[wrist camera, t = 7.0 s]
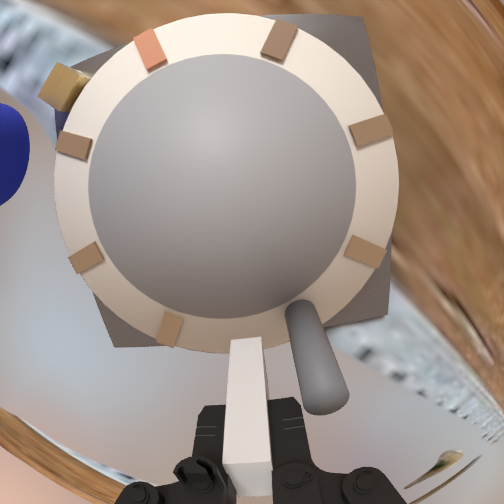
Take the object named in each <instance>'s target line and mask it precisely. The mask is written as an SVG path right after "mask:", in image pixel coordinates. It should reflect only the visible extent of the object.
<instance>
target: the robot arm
mask: <svg viewBox="0 0 504 504" xmlns="http://www.w3.org/2000/svg"><path fill="white" fill-rule="evenodd" d="M173 473H174V474H175V475H176V477H177V478H178V480H179V481H178V482H175V483H172V484H168V485H162V486H156V487H154V486H153V485H151V484H149V483H147V482H141V481H139V482H133V483H131V484H129V485H127V486H126V487H125V488H124V489H123V491H122V492H121V494H120V496H119V497H118V499H117V500H116V502H115V504H236V494H237V496H238V497H255V496H270V495H273V504H407V503H406V502H405V501H404V499H403V498H402V497H401V495H400V494H399V493H398V492H397V490H396V489H395V488H394V486H393V485H392V484H391V482H390V481H389V480H388V478H387V477H386V476H385V475H384V473H382V472H381V471H380V470H378V469H376V468H373V467H361V468H358V469H355V470H353V471H352V472H350V473H349V474H341V473H329V472H325V471H323V470H320V469H319V468H318V467H316V465H315V464H314V463H313V461H312V459H311V455H310V449H309V445H308V439H307V434H306V429H305V424H304V419H303V414H302V409H301V405H300V404H299V403H298V402H297V401H296V399H294V397H289V398H281V399H274V400H269V391H268V380H267V373H266V366H265V360H264V353H263V346H262V339H261V337H254V338H245V339H235V340H231V346H230V359H229V372H228V387H227V401H226V405H210V406H205V407H204V408H203V410H202V411H201V413H200V414H199V415H198V421H197V428H196V437H195V440H194V447H193V453H192V457H188V458H186V459H184V460H181V461H180V462H179V463H178V464H177V465H176V467H175V469H174V471H173Z"/></svg>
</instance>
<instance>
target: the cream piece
mask: <svg viewBox="0 0 504 504" xmlns="http://www.w3.org/2000/svg"><path fill="white" fill-rule="evenodd" d="M297 27H298V26H297V25H294V24H291V23H289V22H286V21H283V20H280V19H276V20H273V19H268V18H264V17H260V16H255V15H246V14H234V13H223V14H207V15H200V16H195V17H190V18H185V19H181V20H178V21H175V22H172V23H169V24H166V25H163V26H161V27H158V28H156V29H154V30H153V28H151V29H149V30H147V31H145V32H143V33H141V34H140V35H138V36H136V37H134V38H133V40H134V41H132V42H131V43H129V44H128V45H126V46H125V47H124V48H122V49H121V50H119V51H118V52H117V53H116V54H115V55H113V56H112V57H111V58H110V59H109V60H108V61H107V62H106V63H105V64H104V65H103V66H102V67H101V68H100V69H99V70H98V71H97V72H96V74H95V75H94V76H93V77H92V78H91V80H90V81H89V82H88V83H87V85H86V86H85V87H84V89H83V91H82V92H81V94H80V95H79V97H78V99H77V100H76V102H75V104H74V105H73V107H72V110H71V112H70V114H69V116H68V118H67V121H66V123H65V125H64V128H63V131H60V133H59V137H58V140H57V144H56V148H55V150H57V156H56V162H55V170H54V173H55V174H54V196H55V206H56V213H57V217H58V222H59V226H60V230H61V234H62V237H63V239H64V242H65V245H66V248H67V250H68V252H69V255H70V257H68V258H69V260H70V262H71V264H72V266H73V268H74V269H75V271H76V273H77V274H78V273H80V274H81V276H82V277H83V279H84V280H85V282H86V283H87V285H88V286H89V288H90V289H91V290H92V291H93V292H94V293H95V294H96V296H97V297H98V298H99V299H100V300H101V301H102V302H103V303H104V304H105V305H106V306H107V307H108V308H109V309H110V310H111V311H113V312H114V313H115V314H116V315H117V316H118V317H120V318H121V319H123V320H124V321H125V322H127V323H128V324H130V325H131V326H133V327H134V328H136V329H138V330H139V331H141V332H143V333H145V334H147V335H149V336H151V337H153V338H155V339H157V340H156V342H158V343H161V344H163V345H166V346H169V347H172V348H173V347H174V346H178V347H181V348H185V349H189V350H194V351H201V352H208V353H230V346H231V340H235V339H245V338H254V337H261V339H262V346H263V349H267V348H271V347H275V346H277V345H280V344H283V343H286V342H289V341H290V343H291V348H292V353H293V357H294V362H295V367H296V372H297V376H298V381H299V386H300V391H301V396H302V401H303V406H304V409H305V410H306V411H307V412H308V413H310V414H313V415H327V414H331V413H333V412H336V411H337V410H339V409H341V408H342V407H343V406H344V405H345V404H346V403H347V401H348V399H349V391H348V388H347V386H346V383H345V381H344V378H343V375H342V373H341V370H340V368H339V365H338V363H337V360H336V358H335V355H334V352H333V350H332V347H331V345H330V342H329V340H328V337H327V335H326V332H325V330H324V327H323V325H322V324H323V323H325V322H326V321H328V320H329V319H331V318H332V317H333V316H334V315H335V314H337V313H338V312H339V311H340V310H341V309H343V308H344V307H345V306H346V305H347V304H348V303H349V302H350V301H351V300H352V299H353V298H354V296H355V295H356V294H357V293H358V292H359V291H360V290H361V289H362V287H363V286H364V284H365V283H366V282H367V280H368V279H369V277H370V276H371V275H372V273H373V272H374V270H375V268H379V266H380V264H381V262H382V260H383V258H384V256H385V254H386V252H387V250H386V249H385V248H386V245H387V243H388V240H389V237H390V235H391V232H392V228H393V224H394V219H395V215H396V210H397V202H398V190H399V178H398V162H397V156H396V151H395V146H394V141H393V137H392V134H394V133H393V130H392V127H391V125H390V122H389V119H388V117H387V114H384V113H383V111H382V109H381V107H380V105H379V103H378V101H377V99H376V98H375V96H374V94H373V93H372V91H371V90H370V88H369V87H368V86H367V84H366V83H365V81H364V80H363V79H362V77H361V76H360V75H359V74H358V73H357V72H356V70H355V69H354V68H353V67H352V66H351V65H350V64H349V63H348V62H347V61H346V60H345V59H344V58H343V57H342V56H340V55H339V54H338V53H337V52H335V51H334V50H333V49H332V48H330V47H329V46H328V45H326V44H325V43H324V42H322V41H320V40H319V39H317V38H315V37H313V36H312V35H310V34H308V33H306V32H305V31H303V30H300V29H298V28H297Z"/></svg>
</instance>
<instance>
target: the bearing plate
mask: <svg viewBox="0 0 504 504" xmlns="http://www.w3.org/2000/svg"><path fill="white" fill-rule="evenodd" d="M260 17H264V18H268V19H273V20H276V19H280V20H283V21H286V22H289V23H291V24H294V25H297V26H298V27H297V28H298V29H300V30H303V31H305V32H306V33H308V34H310V35H312V36H313V37H315V38H317V39H319V40H320V41H322V42H324V43H325V44H326V45H328V46H329V47H330V48H332V49H333V50H334V51H335V52H337V53H338V54H339V55H340V56H342V57H343V58H344V59H345V60H346V61H347V62H348V63H349V64H350V65H351V66H352V67H353V68H354V69H355V70H356V72H357V73H358V74H359V75H360V76H361V77H362V79H363V80H364V81H365V83H366V84H367V86H368V87H369V88H370V90H371V91H372V93H373V94H374V96H375V98H376V99H377V101H378V103H379V105H380V107H381V109H382V103H381V97H380V91H379V86H378V80H377V75H376V70H375V65H374V61H373V56H372V52H371V48H370V44H369V39H368V36H367V32H366V28H365V24H364V21H363V17H357V16H344V15H326V14H287V15H268V16H260ZM128 44H129V43H128ZM128 44H125V45H122V46H120V47H117V48H114V49H111V50H109V51H106V52H104V53H101V54H99V55H96V56H94V57H91V58H89V59H87V60H84V61H82V62H80V63H78V64H76V65H73V66H71V67H68V66H65V65H63V64H60V63H58V62H57V63H56V65H55V67H54V68H53V70H52V71H51V73H50V75H49V77H48V78H47V80H46V82H45V84H44V85H43V87H42V89H41V91H40V93H39V94H38V97H39V98H41V99H42V100H43V101H45V102H46V103H48V104H49V105H51V106H52V107H53V108H55V121H56V132H57V140H58V137H59V133H60V131H63V128H64V125H65V123H66V121H67V118H68V116H69V114H70V112H71V110H72V107H73V105H74V104H75V102H76V100H77V99H78V97H79V95H80V94H81V92H82V91H83V89H84V87H85V86H86V85H87V83H88V82H89V81H90V80H91V78H92V77H93V76H94V75H95V74H96V72H97V71H98V70H99V69H100V68H101V67H102V66H103V65H104V64H105V63H106V62H107V61H108V60H109V59H110V58H111V57H112V56H113V55H115V54H116V53H117V52H118V51H119V50H121V49H122V48H124V47H125V46H126V45H128ZM382 111H383V110H382ZM385 249H386V250H387V252H386V254H385V256H384V258H383V260H382V262H381V264H380V266H379V268H375V270H374V272H373V273H372V275H371V276H370V277H369V279H368V280H367V282H366V283H365V284H364V286H363V287H362V289H361V290H360V291H359V292H358V293H357V294H356V295H355V296H354V298H353V299H352V300H351V301H350V302H349V303H348V304H347V305H346V306H345V307H344V308H343V309H341V310H340V311H339V312H338V313H337V314H335V315H334V316H333V317H332V318H331V319H329V320H328V321H326V322H325V323H323V324H322V325H323V327H329V326H335V325H340V324H345V323H351V322H356V321H361V320H365V319H370V318H375V317H380V316H384V315H388V304H389V290H390V273H391V235H390V237H389V240H388V243H387V245H386V248H385ZM93 294H94V297H95V300H96V303H97V305H98V308H99V311H100V313H101V316H102V318H103V321H104V324H105V326H106V329H107V331H108V333H109V336H110V338H111V340H112V343H113V345H114V347H146V346H147V347H148V346H166V345H163V344H161V343H158V342H156V340H157V339H155V338H153V337H151V336H149V335H147V334H145V333H143V332H141V331H139V330H138V329H136V328H134V327H133V326H131V325H130V324H128V323H127V322H125V321H124V320H123V319H121V318H120V317H118V316H117V315H116V314H115V313H114V312H113V311H111V310H110V309H109V308H108V307H107V306H106V305H105V304H104V303H103V302H102V301H101V300H100V299H99V298H98V297H97V296H96V294H95V293H94V292H93Z"/></svg>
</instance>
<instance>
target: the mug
mask: <svg viewBox="0 0 504 504" xmlns="http://www.w3.org/2000/svg"><path fill="white" fill-rule="evenodd" d="M29 152H30V143H29V134H28V130H27V126H26V123H25V121H24V119H23V117H22V116H21V115H20V114H19V112H18V111H16V110H15V109H14V108H12V107H10V106H8V105H6V104H1V103H0V205H2V204H4V203H5V202H6V201H8V200H9V199H10V198H11V197H12V196H13V195H14V194H15V193H16V191H17V190H18V188H19V187H20V185H21V183H22V181H23V179H24V176H25V173H26V170H27V166H28V161H29Z"/></svg>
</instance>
